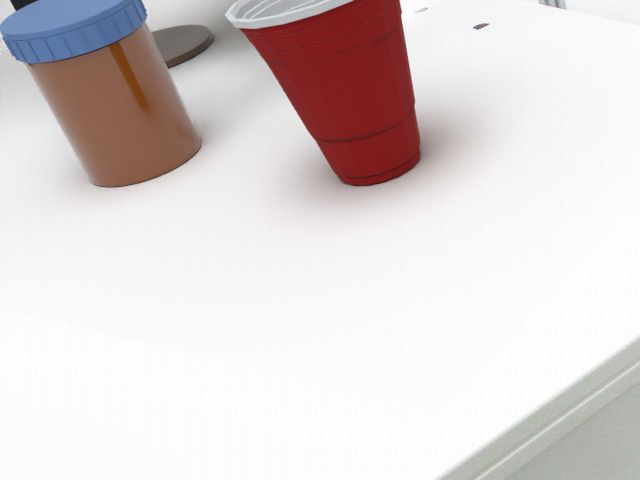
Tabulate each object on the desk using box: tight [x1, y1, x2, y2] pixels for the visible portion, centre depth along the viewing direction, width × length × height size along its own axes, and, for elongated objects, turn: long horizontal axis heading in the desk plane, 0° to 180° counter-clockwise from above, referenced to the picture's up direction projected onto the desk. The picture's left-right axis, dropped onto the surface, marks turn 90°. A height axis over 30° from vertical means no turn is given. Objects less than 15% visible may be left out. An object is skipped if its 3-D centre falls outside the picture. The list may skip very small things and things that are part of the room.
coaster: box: [150, 24, 214, 69], centre depth 97 cm, size 10×10×1 cm
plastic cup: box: [224, 0, 421, 186], centre depth 68 cm, size 11×11×12 cm
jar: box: [22, 20, 202, 188], centre depth 76 cm, size 8×8×11 cm
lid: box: [0, 0, 148, 64], centre depth 73 cm, size 9×9×2 cm
